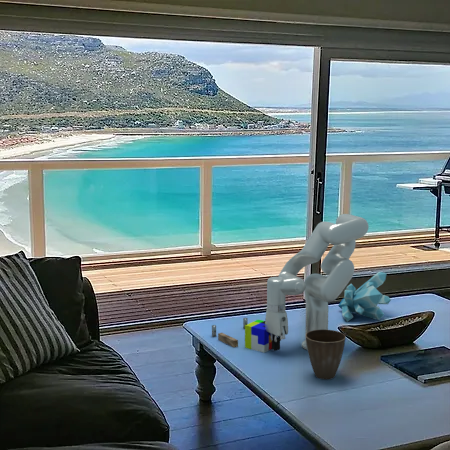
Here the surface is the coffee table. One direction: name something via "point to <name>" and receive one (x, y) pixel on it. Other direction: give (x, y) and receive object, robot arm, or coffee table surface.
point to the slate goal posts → (245, 322)
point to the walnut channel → (227, 340)
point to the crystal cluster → (365, 299)
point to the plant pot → (325, 352)
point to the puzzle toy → (257, 336)
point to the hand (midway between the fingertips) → (275, 349)
